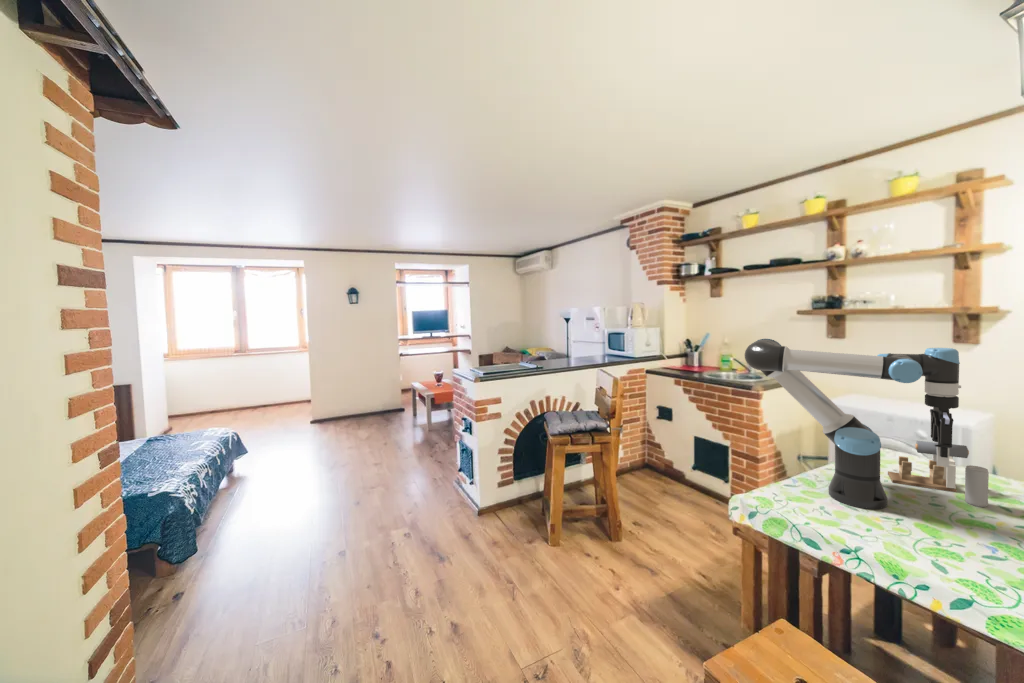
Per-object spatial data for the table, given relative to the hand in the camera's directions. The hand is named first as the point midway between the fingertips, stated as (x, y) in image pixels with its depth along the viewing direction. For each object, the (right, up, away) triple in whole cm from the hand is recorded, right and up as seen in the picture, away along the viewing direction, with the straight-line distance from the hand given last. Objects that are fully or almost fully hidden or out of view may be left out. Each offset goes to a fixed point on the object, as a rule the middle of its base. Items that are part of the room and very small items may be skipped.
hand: (940, 463), depth 128 cm
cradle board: (+7, -11, +13) cm, 19 cm away
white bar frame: (+13, -10, +9) cm, 19 cm away
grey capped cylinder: (0, +3, 0) cm, 3 cm away
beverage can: (+8, -12, -3) cm, 15 cm away
